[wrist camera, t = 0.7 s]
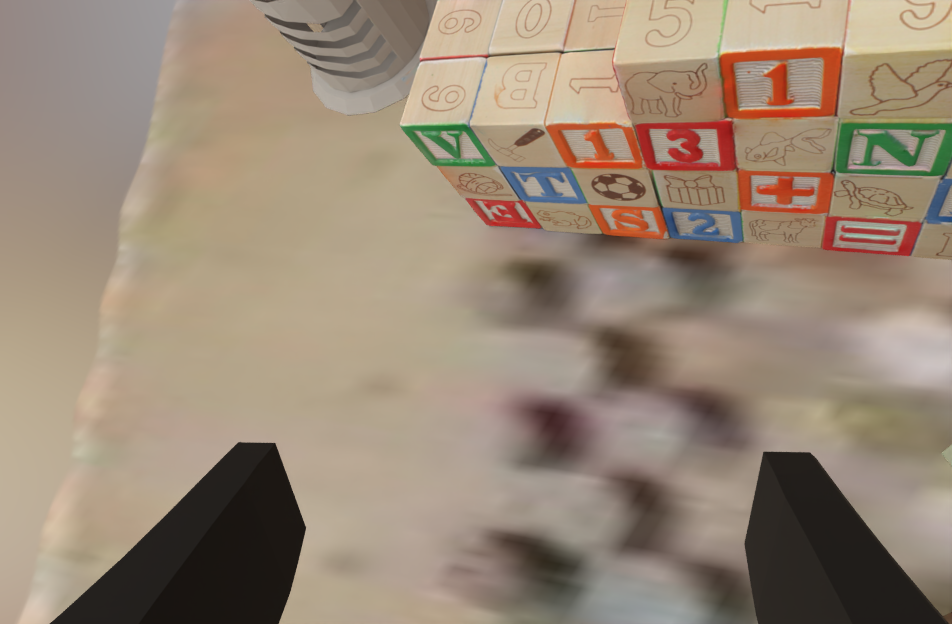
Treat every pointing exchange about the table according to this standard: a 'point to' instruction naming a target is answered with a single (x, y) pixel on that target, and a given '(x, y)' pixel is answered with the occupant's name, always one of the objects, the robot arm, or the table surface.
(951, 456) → the sage cube
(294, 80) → the table surface
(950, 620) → the walnut block
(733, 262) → the table surface
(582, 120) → the stack of blocks
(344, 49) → the french press
